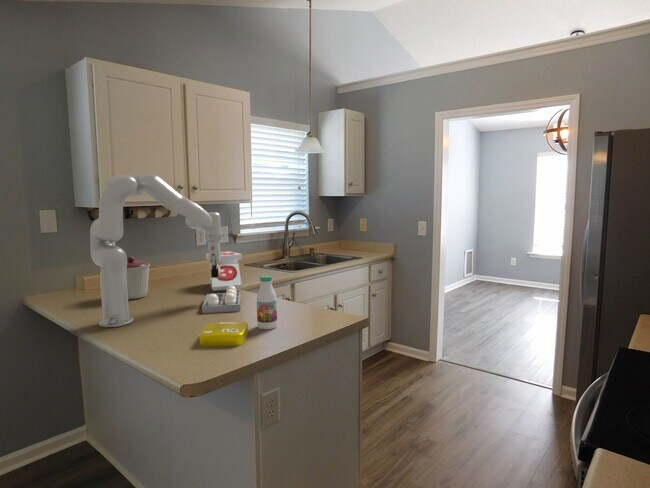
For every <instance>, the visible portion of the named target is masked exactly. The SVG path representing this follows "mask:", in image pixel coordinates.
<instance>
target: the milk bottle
mask: <svg viewBox="0 0 650 488" xmlns="http://www.w3.org/2000/svg"><path fill="white" fill-rule="evenodd" d="M259 277H260V278H259V283H260V285H259V286H260V288H259V290H258V292H257V295H256V322H257V323H256V325H257V328H258V329H259V330H273V329H276V328H277V326H278V300H277V299H278V298H277V294H276V292H275V289H274V286H273V277H272V275H261V276H259Z"/></svg>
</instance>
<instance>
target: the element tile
mask: <svg viewBox="0 0 650 488" xmlns="http://www.w3.org/2000/svg"><path fill="white" fill-rule="evenodd" d="M248 334H249V323H248V322H247V321H226V322H225V321H224V322H223V321H221V322H219V321H218V322H216V321H215V322H208V324H206V326H204V328H203V329H202V330H201V331H200V333H199V335H198V336H199V345H200V347H234V346H238V347H239V346H241V345H242V346H243V345H244V344H245V341H246V340H247V337H248Z"/></svg>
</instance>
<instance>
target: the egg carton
mask: <svg viewBox="0 0 650 488" xmlns="http://www.w3.org/2000/svg"><path fill="white" fill-rule="evenodd" d="M237 290H238V289H236V288H235V287H234V286H229V287H228V288H227V290H226V292H223V293H222V292H221V293H218V292H217V293H207V294H206V295H205V298H204V301H203V302H202V303H203V304H202V306H201V312H202V313H201V314H213V313H229V312H241V308H242V307H241V303H242V292H241V291H240V292H237Z"/></svg>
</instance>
